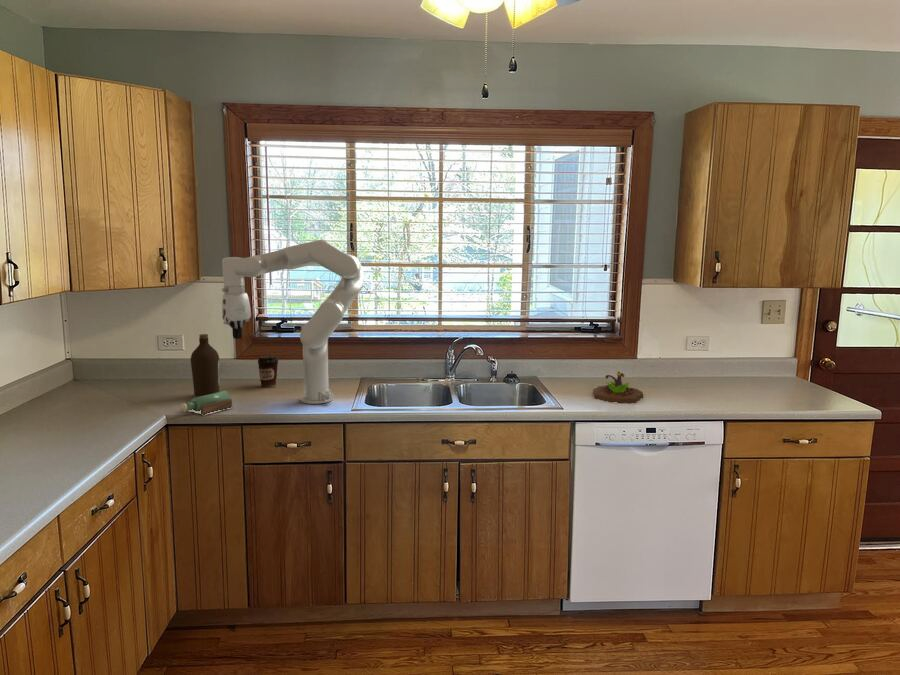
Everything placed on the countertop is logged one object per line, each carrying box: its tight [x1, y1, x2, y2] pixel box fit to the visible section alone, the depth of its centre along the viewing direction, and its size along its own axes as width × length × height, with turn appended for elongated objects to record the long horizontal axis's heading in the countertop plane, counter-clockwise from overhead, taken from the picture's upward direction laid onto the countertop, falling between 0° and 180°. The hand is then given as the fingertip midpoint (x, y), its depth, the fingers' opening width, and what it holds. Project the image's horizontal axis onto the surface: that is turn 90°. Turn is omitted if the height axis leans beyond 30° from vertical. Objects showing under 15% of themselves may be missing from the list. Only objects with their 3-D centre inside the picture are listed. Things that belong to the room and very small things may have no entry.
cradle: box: [184, 398, 233, 415], centre depth 238 cm, size 11×12×4 cm
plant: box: [592, 371, 644, 404], centre depth 260 cm, size 20×20×11 cm
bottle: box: [179, 390, 231, 413], centre depth 237 cm, size 5×5×18 cm
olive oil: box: [190, 333, 221, 397], centre depth 254 cm, size 11×11×25 cm
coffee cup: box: [257, 354, 279, 388], centre depth 272 cm, size 9×8×13 cm
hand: (237, 338), depth 244 cm, fingers closed
